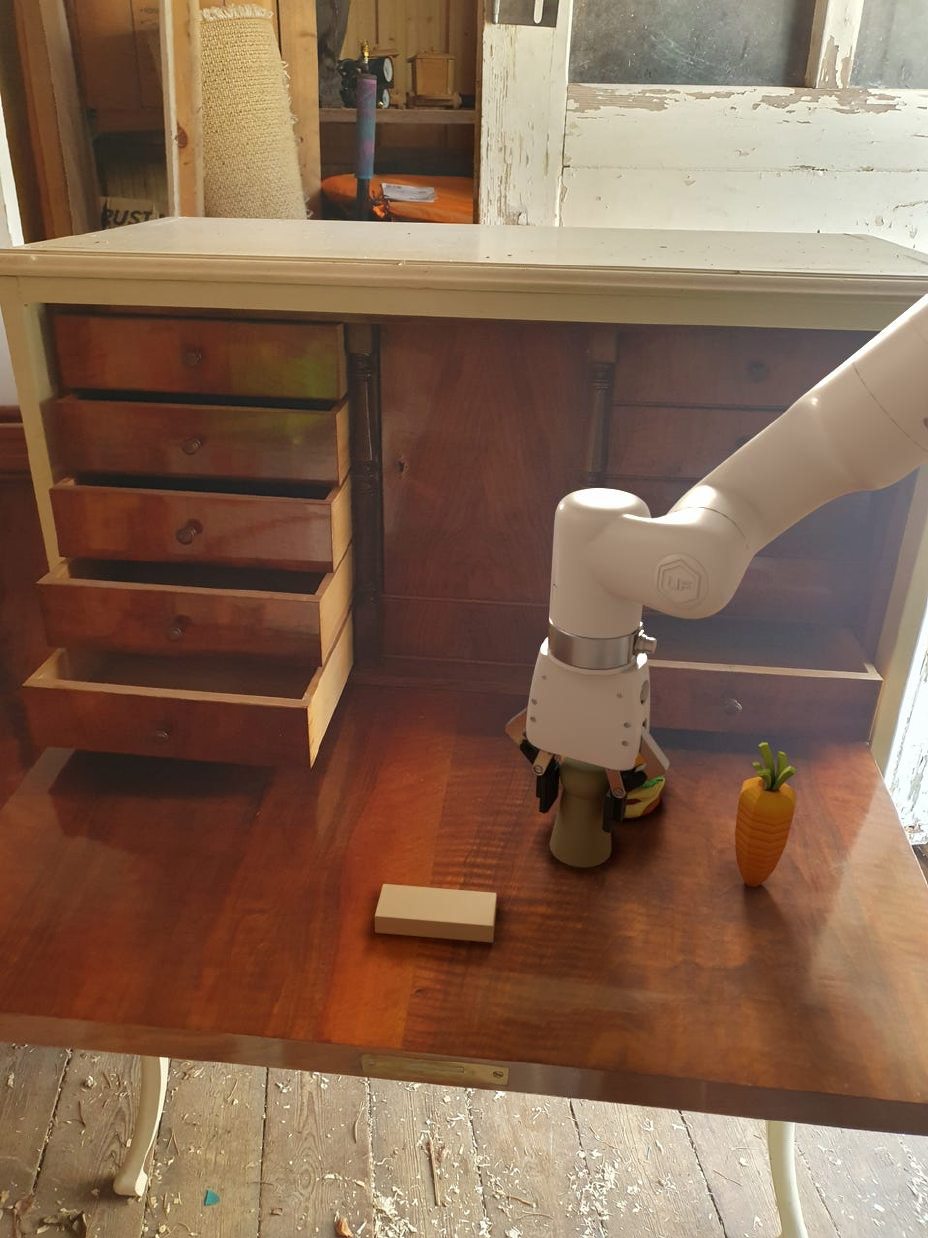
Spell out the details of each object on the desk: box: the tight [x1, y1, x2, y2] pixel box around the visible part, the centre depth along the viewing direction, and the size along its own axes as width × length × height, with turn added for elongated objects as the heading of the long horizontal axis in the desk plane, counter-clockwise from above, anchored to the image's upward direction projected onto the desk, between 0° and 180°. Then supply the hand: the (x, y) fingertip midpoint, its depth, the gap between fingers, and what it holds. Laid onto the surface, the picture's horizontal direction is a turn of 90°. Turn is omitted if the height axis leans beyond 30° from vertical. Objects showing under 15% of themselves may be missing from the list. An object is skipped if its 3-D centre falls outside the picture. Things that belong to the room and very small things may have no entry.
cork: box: [549, 756, 612, 868], centre depth 90 cm, size 6×6×11 cm
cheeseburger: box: [557, 752, 666, 819], centre depth 98 cm, size 10×11×10 cm
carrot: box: [734, 742, 797, 888], centre depth 85 cm, size 5×5×15 cm
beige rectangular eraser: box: [374, 883, 498, 943], centre depth 83 cm, size 10×4×2 cm, turn 84°
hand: (579, 812), depth 88 cm, fingers open, 5 cm apart
